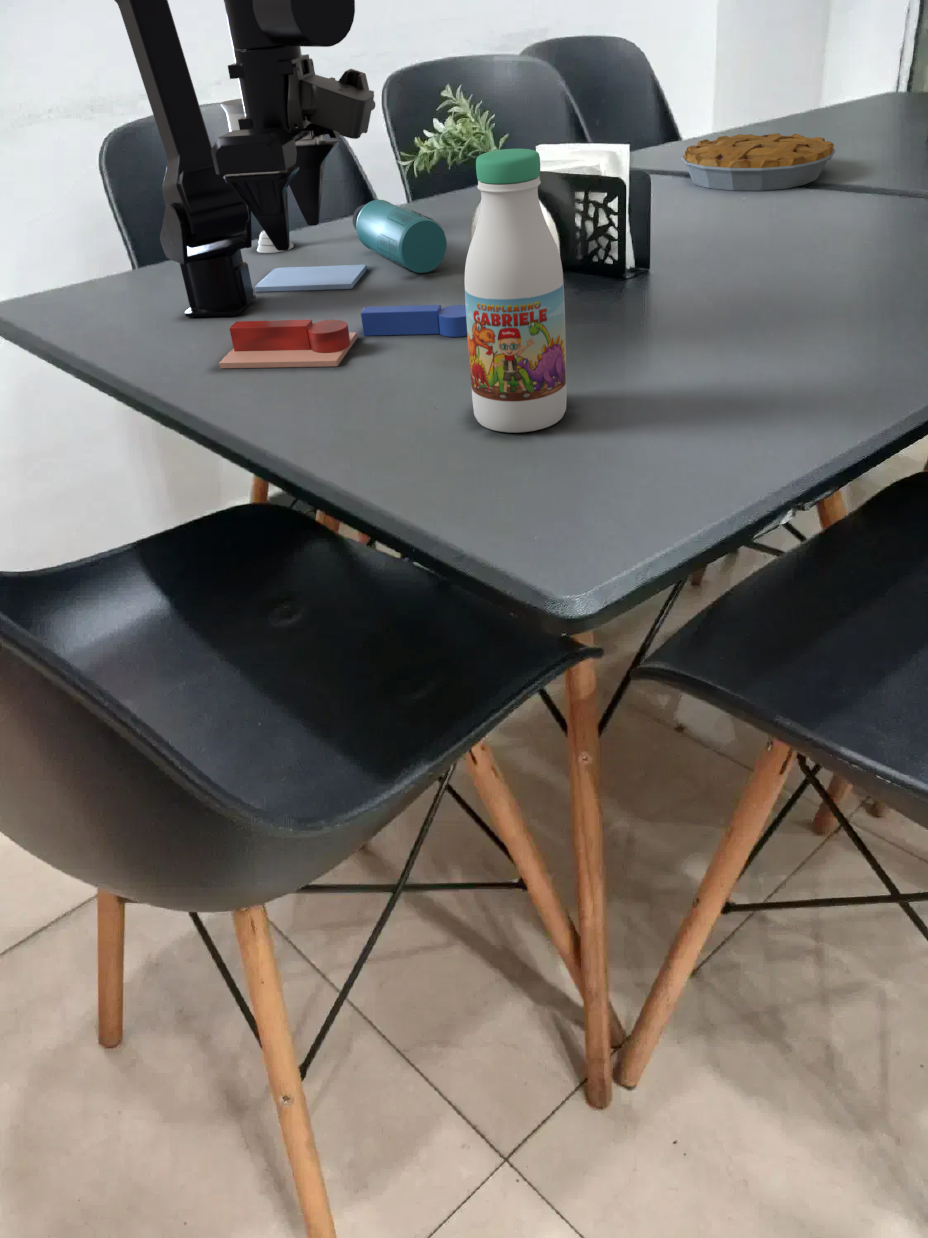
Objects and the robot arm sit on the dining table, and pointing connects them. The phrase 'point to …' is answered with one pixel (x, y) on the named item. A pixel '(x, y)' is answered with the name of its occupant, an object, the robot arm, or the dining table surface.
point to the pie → (757, 161)
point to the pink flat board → (284, 358)
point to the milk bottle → (514, 300)
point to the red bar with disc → (290, 335)
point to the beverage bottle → (400, 235)
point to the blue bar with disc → (415, 320)
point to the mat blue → (311, 278)
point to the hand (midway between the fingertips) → (299, 236)
